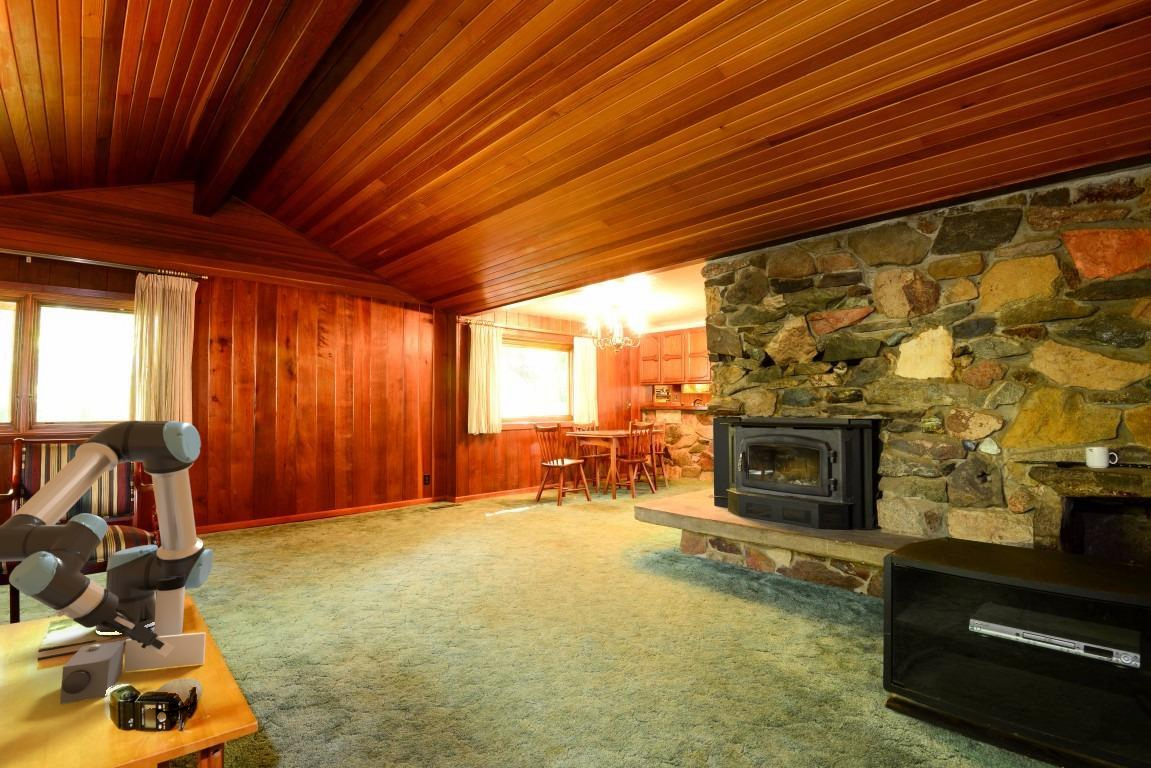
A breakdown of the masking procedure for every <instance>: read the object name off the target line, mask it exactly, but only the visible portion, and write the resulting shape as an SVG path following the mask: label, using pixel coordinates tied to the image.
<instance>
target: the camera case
mask: <svg viewBox="0 0 1151 768" xmlns="http://www.w3.org/2000/svg"><path fill="white" fill-rule="evenodd" d="M124 651H125V640H120V641H113V642H112V641H111V642H104V643H94V644H88V645H82V646H81V647H80V648H79V649H78V650H77V652H75V653H74V655H73V656H72V657H71V658H70V659H69V660H68V661H67V662H66V663H65V664H64V665H63V666H62V673H61V675H62V676H61V690H60V704H59V705H64V704H70V703H75V702H81V701H82V702H83V701H87V700H92V699H99V698H105V694H106V690H107V689H108V688H109V687H111V686H113V685H114V686H115V685H116V683H117V682H118V680H119V679H120V678H121V677H122V674H123V670H124V655H125V652H124ZM114 686H113V687H114Z"/></svg>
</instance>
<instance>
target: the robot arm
mask: <svg viewBox="0 0 1151 768" xmlns="http://www.w3.org/2000/svg"><path fill="white" fill-rule="evenodd" d="M201 447H202V442H201V437H200V434H199V431H198V430H197V428H196V427H195V426H194V425H193V424H191V423H190V422H188V421H177V420H168V421H167V420H163V421H162V420H127V421H122V422H118V423H115V424H112V425H110V426H107V427H105V428H104V429H102V430H100V431H98V432H96V433H94V434H93V435H92V436H90V437H89V438H87V439H86V440H85V441H84V442H82V443H81V444H80V445H79V446H78V447H77V448H76V450H75V451H74V452H75V456H74V457H73V458H72V459H71V460H70V461H69V462H67V464H66V465H64V466H63V467H62V468H61V469H60V470H59V471H58V472H57V473H56V474H55V475H54V476H52V477H51V479H49V480H48V481H47V482H46V483H45V484H44V485H43V486H42V487H41V488H39V490H38V491H36V493H35V494H33V496H31V497H30V498H29V499H28V500H27V501H26V502H24V504H23V505H21V507H20V508H19V509H17V511H16V512H14V513H13V514H12V515H11V516H10V517H9V518H8V519H7V520H6V521H5V522H4V523H3V524H1V525H0V563H1V562H21V563H19V564H17V565H16V566H15V568H13V570H12V571H11V573H10V575H9V578H8V581H9V583H10V584H11V586H13V587H14V588H16V590H18V591H20V592H22V593H23V595H25V596H27V597H31V598H32V599H34V600H36V601H37V602H39V603H42V604H44V605H45V606H47V607H48V608H50V609H53V610H54V611H56V612H57V614H56V616H57V617H59V618H60V617H62V616H65V617H66V618H69V619H71V620H73V621H74V623H77V624H79V625H80V626H82V627H83V628H87V629H90V628H94V627H95V629H96V630H97V631H100V632H115V631H117V632H119V633H122V634H124V636H126V637H127V638H128V639H131V640H136V641H137V642H138V643H143V644H142V646H141V647H142V648H144V649H145V647H147V648H149V649H151V650H152V651H154V652H156V653H158V654H159V655H161V656H163V657H165V658H166V657H167V656H168V655H169V653H170V652H171V651H172V650H173V649H174V647H175V646H173V645H171V644H170V643H168V642H166V641H165V640H163V639H161V638H160V637H158V635H157V634H156V633H154V631H153V629H151V628H148V629H147V628H146V627H144V626H145V625H147V624H150V623H152V622H155V610H156V596H155V593H156V591H157V587H158V586H157V582H158V580H159V579H163V578H166V577H168V576H173V575H180V574H185V591H187V590H193V589H194V590H195V589H199V588H200V587H202V586H203V585H204V584H205V583H206V581H207V580H208V578H209V577H210V574H211V572H212V570H213V569H212V568H213V564H214V555H215V554H214V552H213V551H214V550H212V549H211V548H204V547H205V545H204V541H203V540H202V539H201V538H199V537H197V531H196V522H195V515H194V514H195V513H194V506H193V498H192V490H191V489H192V488H191V483H190V482H191V481H190V475H189V470H190V468H191V467H193V465H194V462H195V461H196V460H197V459H198V458H199V456H200V454H201ZM128 462H129V463H130V462H131V463H142V465H143V466H142V467H143V471H144V472H145V473H146V474H148V475H150V476H151V480H152V487H153V493H154V495H153V496H154V499H155V506H156V508H155V509H156V515H157V520H158V521H157V522H158V528H159V535H160V543H161V546H160V547H158V545H157V544H147V545H139V546H134V547H130V548H126V549H125V548H124V549H121V550H119V551H116V552H114V553H112V554H111V555H109V557H108V561H107V567H106V569H105V570H106V580H105V581H106V582H105V588H104V586H102V585H101V584H99V583H98V582H96V581H94V580H93V579H91V578H90V577H87V576H86V575H85V574H84V573H82V572H81V571H82V570H83V568H84V567H85V565H87V562H88V561H89V560H90V558H91V557H92V555H94V553H95V551H96V550H97V548H98V547H99V546H100V545H101V543H102V540H103V539H104V537H105V536H106V533H107V532H108V529H109V526H108V525H109V524H107V521H106V520H105V519H103V518H102V517H101V516H98V515H96V514H93V513H79V514H76V515H74V516H72V517H71V518H70V519H69V520H67V522H66V524H57V523H58V522H60V520H61V519H62V518H63V517H64V516H65V514H66V513H67V512H68V511H69V510H70V509H71V508H72V507H74V505H76V503H77V502H78V501H79V500H80V499H81V498H83V496H84V495H85V494H86V492H87V491H88V490H89V489H91V487H92V486H93V485H94V484H95V483H96V482H97V481H98V480H99V479H100V477H102V476H103V475H104V474H105V473H107V472H110V471H112V470H114V469H115V468H116V467H117V466H118V465H119V464H123V463H128ZM95 629H94V630H95Z"/></svg>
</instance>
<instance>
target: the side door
mask: <svg viewBox="0 0 1151 768" xmlns="http://www.w3.org/2000/svg"><path fill="white" fill-rule="evenodd" d="M206 635H207V632H193V633H182V634H180V635H169V636H158V637H160V638H161V639H163V640H165V641H166V642H168V643H170V644H171V645H173V646H175V647H174V649H173V650H172V651H171V652H170V653H169V655H168V656H167V657H166V658H165V657H163V656H161V655H159V654H158V653H156V652H154V651H152V650H151V649H149V648H147V647H145V649H144V648H142V647H141V646H142V644H143V643H138V642H137V641H136V640H131V638H127V639H126V640H125V645H124V651H125V652H124V661H123V673H124V672H133V671H134V672H135V671H145V670H155V669H164V668H166V669H167V668H174V667H183V666H191V665H193V666H194V665H203V664H204V663H205V656H206V640H207V639H206Z"/></svg>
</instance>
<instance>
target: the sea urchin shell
mask: <svg viewBox="0 0 1151 768" xmlns="http://www.w3.org/2000/svg"><path fill="white" fill-rule="evenodd" d="M192 687H196V694H197V701H198V700H199V699H200V697H201V696H202V694H203V684H202V683H201V681H199V680H198V679H196V678H194V677H189V678H187V677H185V678H184V677H183V678H175V679H172V680H169V681H167V682H166V683H164V684H163V685H161V686H159V687H158V688H157V690H155V692H172V693H176V694H178V695H179V697H180V698H181V700H182V701H185V700H186V699H187V697H188V694H189V690H190V689H191V688H192Z"/></svg>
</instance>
